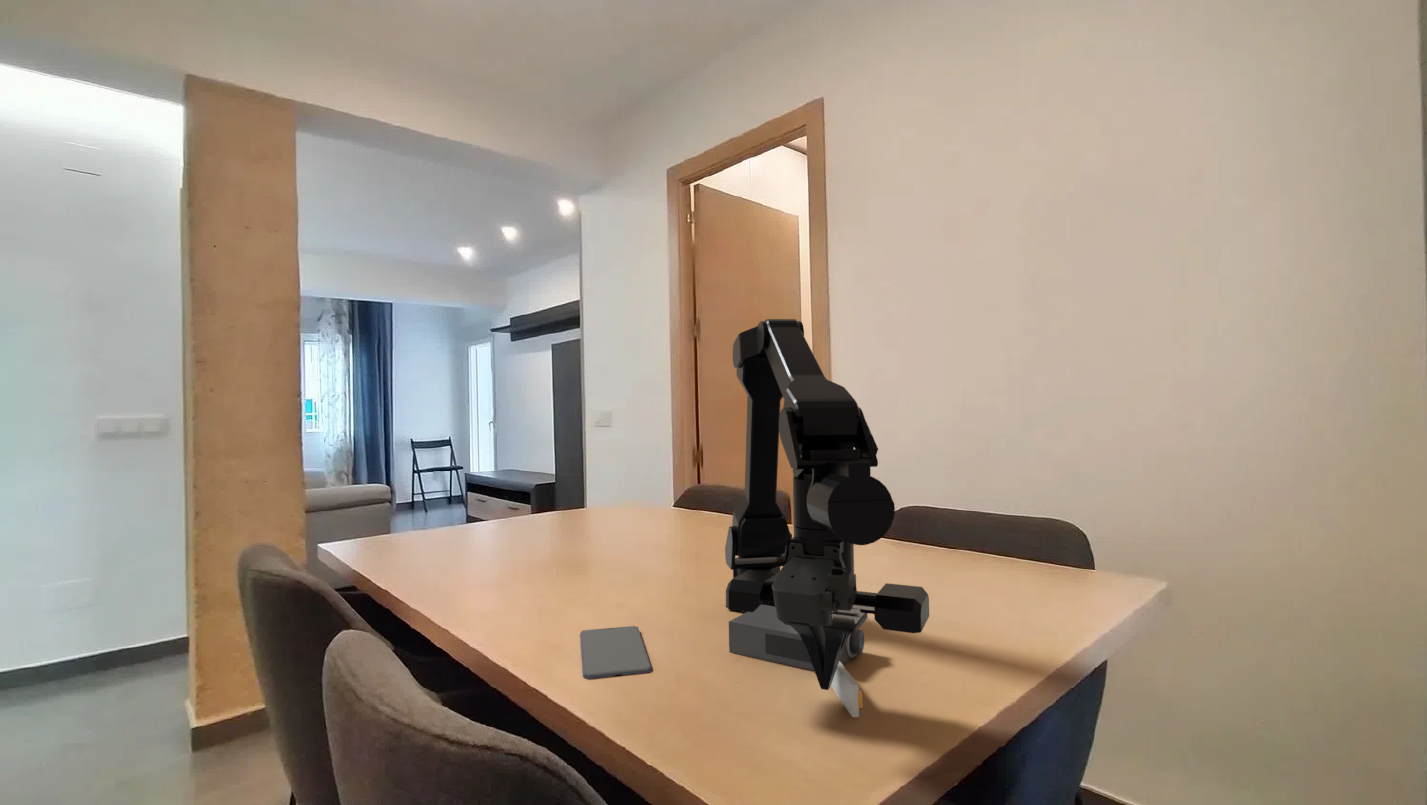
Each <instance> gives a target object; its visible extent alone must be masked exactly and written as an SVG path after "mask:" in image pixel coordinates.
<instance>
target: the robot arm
mask: <svg viewBox="0 0 1427 805" xmlns="http://www.w3.org/2000/svg"><path fill="white" fill-rule="evenodd" d="M732 364H733V367H734V368H735V369H736V377H737V379H738V382H739V383H740V385H741V387H742V389H743V390H744V392H745V393H746V396H747V397H746V398H747V400H746V402H747V403H746V405H747V406H746V407H747V408H746V436H745V437H746V438H745V442H746V443H745V466H744V467H745V468H744V469H745V470H744V471H745V472H744V493H743V494H744V495H743V496H742V498H741V499H740V500H739V502H738V503H737V504H736V506H735V507H734V509H733V511H732V521H731V522H732V523H731V525H730V526H729V527H728V531H727V535H726V542H725V547H724V555H725V564H726V565H727V567H728V568H729V569H730V570H732V578H731V580H730V581H729V582H728V583H727V586H726V589H725V607H726V608H727V609H728V610H729V611H730V610H731V611H737V612H742V613H746V612H754V611H755V610H756V609H757V608H758V607H759V606H760V605H768V606H774V607H775V609H776V616H777V618H778V620H780V621H782V623H783V624H785V625H790V626H791V627H792V628H793V629H794V630H795V631H796V632H797V633H798V634H799V635H800V637H801V639H802V641H803V643H804V645H805V647H806V649H807V652H808V654H809V657H810V660H811V663H812V665H813V668H814V673H815V676H816V678H817V682H818V684H819V687H820V690H825V691H828V690H829V689H830V688H831V687H832V686H831V684H832V681H833V678H834V675H835V672H836V669H837V666H838V663H839V660H840V657H841V655H842V652H843V649H844V646H845V643H846V641H847V639H848V637H849V635H850V633H855V632H857V630H858V629H861V627H862V626H863V624H864V623H865V622H866V620H867V619H868V614H870V615H874V619H873V620H875V622H876V623H877V624H878V625H879V626H880V628H881V629H883V631H884V630H885V631H886V630H887V631H892V632H899V633H908V634H918V633H922V631H923V629H924V628H925V625H926V623H927V622H928V619H929V617H930V597H929V594H928V592H927V591H926V590H925V589H924V587H922V586H917V585H916V586H915V585H907V584H905V585H904V584H897V583H888V582H887V583H885V584H884V585H883V586H882V587H881V588H880V590H879V591H878V592H869V591H861V590H860V591H859V590H858V589H857V574H855V548H854V546H855V545H856V546H867V545H871V544H873V543H876V542H877V541H879V540H880V539H882V538H883V537H884V536H885V535H886V534H887V533H888V531H889V530H890V528H891V527H892V525H893V522H894V518H895V512H896V509H895V507H896V506H895V501H894V500H893V498H892V494H891V492H890V491H889V490H888V488H887V487H886V485H884V484H883V483H882V481H881V480H879V479H877V478H875V477H874V476H871V473H872V472H871V468H876V467H878V465H879V461H878V457H877V454H878V451H879V448H878V446H877V443H876V441H875V438H874V436H873V434H872V432H871V429H870V427H869V424H868V423H867V420H866V418H865V415H864V412H863V410H862V408H861V407H860V406H859V404H858V402H857V401H856V399H855V398H854V397H853V396H852V395H851V393H850V392H849V391H848V390H847V389H846V387H844V386H843V385H840V384H839V383H835V382H834V381H831V380H829V379H827V378H826V376H825V374H824V372H823V370H822V368H821V367H820V365H819V363H818V360H817V358H816V357H815V355H814V353H813V351H812V349H811V347H810V345H809V343H808V341H807V339H806V338H805V329H804V325H803V322H802V321H800V320H797V319H796V318H794V319H793V318H789V319H788V318H785V319H783V318H780V319H779V318H767V319H765V320H760V321H759V323H758V324H757V326H754V327H752V328H750V329H747V330H744V331H742V332H740V333H738V335H737V337H736V339H735V340H734V342H733V344H732ZM782 399H783V407H782V408H781V401H782ZM779 440H780V441H781V445H782V448H783V451H784V453H785V455H786V458H787V462H788V463H789V466H790V468H791V469H792V476H793V477H792V493H793V494H792V498H793V501H792V502H793V503H792V504H793V506H792V508H793V534H792V533H791V532H790V528H789V525H788V521H787V519H786V517H785V515H784V513H783V512H782V509H781V508H780V506H779V505H778V503H777V491H778V490H777V489H778V470H779V469H778V468H779V467H778V466H779V464H778V462H779V445H780V444H779V443H780V441H779ZM736 556H737V557H736Z"/></svg>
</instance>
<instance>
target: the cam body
mask: <svg viewBox="0 0 1427 805" xmlns="http://www.w3.org/2000/svg"><path fill="white" fill-rule="evenodd" d="M864 647H865V632H864V631H863V629H861V628H859V629H858V630H857V632H855V633H850V635H849V637H848V639H847V641H846V643H845V646H844V649H843V652H842V655H841V657H840V660H839V661H840V662H841V663H842V665H843V666H844V664H846V663H847V662H848V661H850V660H851V659H853V658H855V657H856V656H860V655H862V653H863V651H864ZM728 650H729V651H728V653H732V654H736V655H742V656H746V657H749V658H750V657H751V658H755V659H760V660H762V661H763V660H764V661H768V662H773V663H778V664H782V665H786V666H791V667H796V668H799V669H805V670H810V671H814V668H813V665H812V663H811V660H810V657H809V654H808V652H807V649H806V647H805V645H804V643H803V641H802V639H801V637H800V635H799V634H798V633H797V632H796V631H795V630H794V629H793V628H792V627H791V626H790V625H785V624H783V623H782V621H780V620H778V618H777V616H776V609H775V607H774V606H768V605H760V606H759V607H758V608H757V609H756V610H755V611H754V612H743V614H740V615H738V616H737V617H735V618H732V619H731V620H729V621H728ZM814 672H815V671H814Z"/></svg>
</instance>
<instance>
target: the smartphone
mask: <svg viewBox="0 0 1427 805" xmlns="http://www.w3.org/2000/svg"><path fill="white" fill-rule="evenodd" d="M579 638H580V640H579V641H580V644H579V645H580V652H581V653H580V655H581V669H582V678H583V679H584V680H597V679H606V678H612V677H613V678H614V677H615V676H619V675H622V677H623V676H631V675H632V676H633V675H641V674H649V673H650V672H652V670H653V668H652V664H651V662H650V659H649V656H648V653H647V650H646V646H645V644H644V641H643V638H642V635H641V633H640V629H639V627H638V626H636V625H631V626H619V627H618V626H617V627H616V626H615V627H605V628H596V629H595V628H594V629H584V630H582V631H580V633H579Z"/></svg>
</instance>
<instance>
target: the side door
mask: <svg viewBox="0 0 1427 805" xmlns="http://www.w3.org/2000/svg"><path fill="white" fill-rule="evenodd" d="M830 687H831V688H832V689H833V690H834V692H835V694H836V695H837V696H838V698H839V700H840V701H841V702H842V704H843V706H844V707H845V709H846V710H847V711H848V713H849V715H850V716H851V717H852V718H860V709H863V707H864V706H863V691H862V690H861V689H860V687H859V683H858V682H857V681H856V679H855V678H853V676H852V675H851V673H850V672H849V671H848V670H847V669H846V667H845V666H844V665H842V663H841V662H840V661H839V663H838V666H837V669H836V672H835V675H834V678H833V681H832V684H831V686H830Z"/></svg>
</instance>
